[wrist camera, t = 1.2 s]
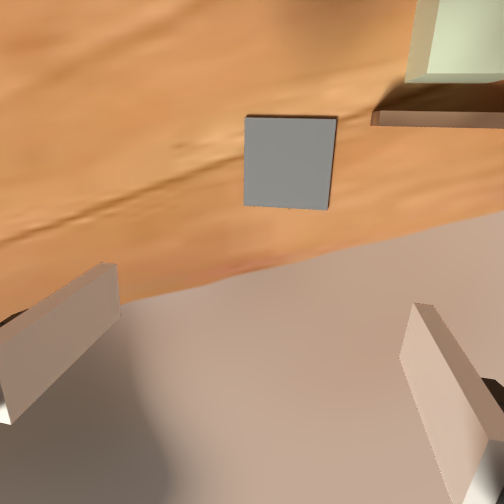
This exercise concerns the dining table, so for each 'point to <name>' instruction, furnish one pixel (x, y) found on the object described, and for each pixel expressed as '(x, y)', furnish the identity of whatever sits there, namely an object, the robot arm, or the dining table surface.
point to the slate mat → (288, 162)
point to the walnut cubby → (438, 119)
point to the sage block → (457, 42)
